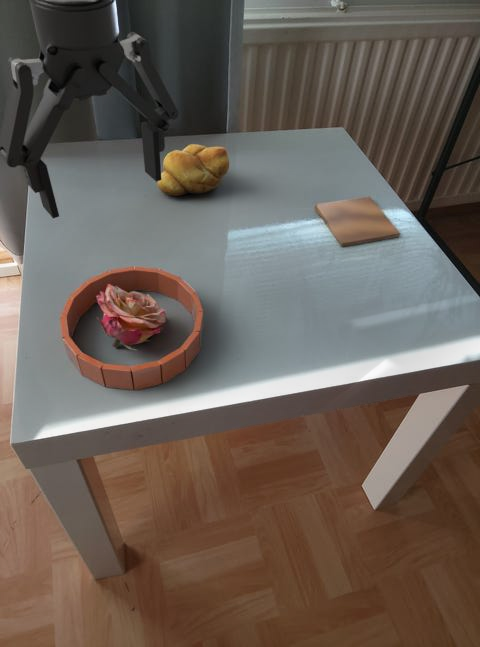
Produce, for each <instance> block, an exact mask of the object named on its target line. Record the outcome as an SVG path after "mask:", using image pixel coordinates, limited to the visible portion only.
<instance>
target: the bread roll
mask: <svg viewBox="0 0 480 647" xmlns="http://www.w3.org/2000/svg"><path fill="white" fill-rule="evenodd" d="M162 164H163V165H162V167H163V171H161V180H160V181H157V187H158V189H159V190H160V191H161V192H162V193H163V194H165V195H168V196H172V197H178V196H183V195H186V194H188V193H189V194H205V193H209V192H211V191H213V190H216V189H217V188H218V187H219V185H221V182H222V181H223V177H224V176H225V175H226V174H227V173H228V172H229V169H230V158H229V153H228V150H227V148H225V147H223V146H210V147H207V146H205V145H201V144H194V143H190V144H188V145H187V146H186V147H185V148H183V149H182V150H178V149H175V150H172V151H170V152H169V153H167V154H166V156H165V157H164V159H163V162H162Z"/></svg>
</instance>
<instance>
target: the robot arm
mask: <svg viewBox="0 0 480 647" xmlns="http://www.w3.org/2000/svg"><path fill="white" fill-rule="evenodd" d="M28 1H29V5H30V9H31V14H32V18H33V23H34V28H35V32H36V37H37V40H38V44H39V54H38V58H26V59H21V58H20V57H19V56H18V55H11V56H9V57H8V59H7V67H8V74H9V79H10V84H9V88H8V89H9V90H8V93H7V94H8V95H7V99H6V100H7V101H6V105H5V106H6V107H5V111H4V116H3V120H2V125H1V132H0V158H1V159H2V160H3V161H4V162H5V163H6V165H7V166H8V167H10V168H16V167H18V166H21V167H22V171H23V175H24V177H25V178H24V179H25V181H26V184H27V185H28V186H29V188H30V189H31V190H32V191H33V192H34V193H35V194H37V193H38V194H39V198H40V200H41V205H42V207H43V208H44V210H45V211H46V212H47V213H48V214H49V216H50V217H51V218H52V219H56V218H59V217H60V213H59V210H58V206H57V202H56V201H57V200H56V197H55V192H54V189H53V185H52V182H51V178H50V173H49V170H48V167H47V166H48V165H47V164H46V163H45V161H44V160H42V159H41V158H42V157H43V154H44V152H45V151H46V149H47V146H48V144H49V143H50V140H51V139H52V137H53V135H54V133H55V130H56V129H57V127H58V125H59V122H60V121H61V119H62V117H63V115H64V113H65V112H66V111H68V110H69V109H70V108H71V106H72V104H73V102H74V100H77V101H78V102H81V101H86V100H88V99H90V98H91V97H94V96H95V97H101V96H105V95H108V92H109V90H110V89H111V88H113V89H114V90H115V91H116V92H117V93H118V94H119V95H120V96H122V97H123V99H125V100H126V101H127V102H128V103H129V104H130V105H131V106H132V107H133V108H134V109H135V110H137V112H139V113H140V114H141V115H142V117H144V118H145V119H146V120H148V121H143V122H140V130H141V142H142V143H141V144H142V153H143V162H144V163H143V164H144V172H145V174H147V175H148V176H149V177H150V178H151V179H153V180H154V181H155V183H156V182H157V183H158V181H160V180H161V173H162V165H161V153H162V152H164V151H165V149H166V142H165V132H167V131H168V130H169V129H170V123H169V121H170V120H176V119H177V118H178V117H179V110H178V109H177V106H176V104H175V103H174V101H173V99H172V97H171V95H170V93H169V91H168V89H167V87H166V85H165V84H164V82H163V80H162V78H161V76H160V74H159V72H158V70H157V68H156V67H155V65H154V63H153V60H152V55H151V49H150V48H151V47H150V43H149V41H148V40H146V39H145V38H143V37H142V36H140V34H137V33H136V32H134V31H130V32H129V33H128V34H127V36H126V39H122V40H120V38H119V35H120V34H119V33H120V28H119V19H118V10H117V0H28ZM125 57H126V58H127V59H128V60H129V61H130V62H132V64H133V66H134V67H135V69H136V71H137V73H138V75H139V76H140V78H141V80H142V82H143V83H144V85H145V87H146V89H147V90H148V92H149V94H150V96H151V97H152V99H153V102H155V105H156V106H157V108H155V109H154V108H153V106H152V105H150V104H149V103H148V102H147V101H146V100H145V98H143V96H141V95H140V93H138V92H137V91H136V90H135V89H134V88H133V87H132V86H131V85H130V83H128V82H127V81H126V80H125V79H124V78H123V77H122V76H121V75H120V73H119V71H120V69H121V66H122V64H123V62H124V60H125ZM43 74H44V75H45V76H46V77H47V78H48V80H47V82H46V84H45V86H44V88H43V90H42V93H43V96H42V98H41V100H40V103H39V105H38V106H37V109H36V110H35V113H34V115H33V117H32V118H31V121H30V122H29V119H30V115H31V114H30V113H31V109H32V105H33V100H34V91H35V90H34V87H35V86H38V84H39V77H40V76H41V75H43ZM28 124H29V125H28Z"/></svg>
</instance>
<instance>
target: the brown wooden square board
mask: <svg viewBox="0 0 480 647" xmlns="http://www.w3.org/2000/svg"><path fill="white" fill-rule="evenodd" d="M314 209H315V211H316V213H318V215H319V216H320V218H321V219H322V221H323V222H324V224H325V225H326V227H327V228H328V229H329V231H330V233H331V234H332V235H333V237H334V238H335V240H336V242H337V243H338V244H339V246H340V247H341V248H345V247H349V246H356V245H361V244H366V243H371V242H378V241H385V240H389V239H395V238H400V235H401V232H400V231H399V229H397V227H396V226H395V225H394V224H393V223H392V222H391V220H390V219H389V217H387V216H386V214H385V213H384V212H383V211H382V210H381V208H380V207H379V205H378V204H377V203H376V202H375V200H373V198H372V197H371V196H363V197H356V198H349V199H342V200H336V201H329V202H323V203H315V205H314Z"/></svg>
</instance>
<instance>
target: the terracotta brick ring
mask: <svg viewBox="0 0 480 647" xmlns="http://www.w3.org/2000/svg"><path fill="white" fill-rule="evenodd" d="M108 284H110V285H112V286H114V287H115V286H117V287H119V288H120V289H121V290H124V291H126V292H132V291H143V292H155V293H160V294H162V295H164V296H167V297H169V298H172V299H174V300H176V301H178V302H179V303H180V304H181V305H182V306H183V307H184V308H185V309H186V310H187V311H188V312H189V313H190V314H191V316H192V320H193V322H194V327H193V331H192V332H191V333H190V335H189V336H188V337H187V338H186V339H185V341H184V342H183V344H182V345H181V346H180V347H179V348H177V349H175V350H174V351H172V352H171V353H169V354H167V355H165V356H164V357H162V358H160V359H158V360H154V361H150V362H145V363H140V364H135V365H123V364H113V363H104V362H102V361H101V360H98V359H96V358H94V357H92V356H90V355H88V354H86V353H84V352H82V351H81V349H80V348H79V347H78V346H77V344H76V343H75V342H74V340H73V335H74V333H75V330H76V327H77V325H78V323H79V320H80V318H81V317H82V316H83V315H85V313H87V311H88V310H90V309H91V307H92V306H93V305H94V304H97V303H98V300H97V298H96V296H97V295H101V293H100V291H102V292H104V293H105V292H106V289H107V286H108ZM101 296H102V295H101ZM59 322H60V323H59V324H60V331H61V338H62V341H63V344H64V347H65V351H66V354H67V358H68V359H69V360H70V362H71V363H72V364H73V366H74V367H75V368H76V370H78V372H79V373H80V374H81V375H82V376H83V377H84V378H86V379H89V380H90V381H92V382H94V383H96V384H98V385H100V386H102V387H106V388H110V389H120V390H128V391H137V390H141V389H146V388H150V387H154V386H155V387H156V386H159V385H162V384H165V383H167V382H168V381H170V380H172V379H173V378H175V377H177V376H178V375H179V374H181V373H183V372H185V371H186V370H187V369H188V368H189V367H190V365H191V364H192V362H193V360H194V359H195V358H196V357H197V356H198V354H199V352H200V351H201V346H202V340H203V334H204V308H203V306H202V304H201V301H200V298H199V294H198V292H196V290H194V288H192V287H191V286H190V285H189V284H188V283H187V282H186V281H185V280H184V279H183V278H181V277H180V276H177V275H175V274H173V273H171V272H168V271H166V270H163V269H161V268H160V269H159V268H155V267H154V268H153V267H147V266H146V267H144V266H136V265H135V266H128V267H120V268H114V269H109V270H107V271H104V272H102V273H100V274H98V275H95V276H93V277H91V278H89V279H86V281H84V282H83V283H82V284H81V285H80V286H78V288H76V289H75V291H73V292H72V293H71V294H70V295H69V296H68V298H67V300H66V302H65V304H64V306H63V308H62V311H61V313H60V317H59Z"/></svg>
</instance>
